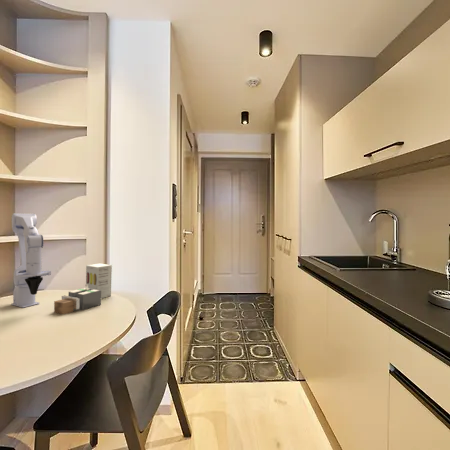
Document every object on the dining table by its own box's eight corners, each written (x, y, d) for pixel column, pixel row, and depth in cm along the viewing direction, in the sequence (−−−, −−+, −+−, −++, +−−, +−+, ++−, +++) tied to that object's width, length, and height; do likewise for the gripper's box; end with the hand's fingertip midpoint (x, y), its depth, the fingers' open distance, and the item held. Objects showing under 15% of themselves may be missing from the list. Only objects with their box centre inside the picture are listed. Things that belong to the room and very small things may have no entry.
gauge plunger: (76, 309, 140) (76, 289, 140) (61, 306, 145) (61, 287, 145) (95, 303, 150) (96, 285, 150) (81, 300, 154) (81, 282, 154)
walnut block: (54, 312, 140) (54, 301, 139) (64, 309, 144) (64, 298, 144) (63, 314, 137) (63, 303, 137) (73, 311, 141) (73, 300, 141)
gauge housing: (83, 310, 144) (83, 294, 143) (68, 306, 148) (68, 291, 148) (100, 304, 153) (101, 289, 152) (86, 301, 157) (86, 287, 157)
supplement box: (84, 296, 166) (85, 265, 165) (99, 293, 174) (100, 263, 173) (97, 299, 161) (97, 267, 161) (111, 295, 169) (112, 264, 169)
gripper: (22, 266, 128) (22, 299, 129) (55, 261, 141) (55, 291, 142) (12, 264, 132) (11, 296, 132) (45, 260, 145) (45, 289, 145)
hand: (33, 294), depth 137 cm, fingers closed
